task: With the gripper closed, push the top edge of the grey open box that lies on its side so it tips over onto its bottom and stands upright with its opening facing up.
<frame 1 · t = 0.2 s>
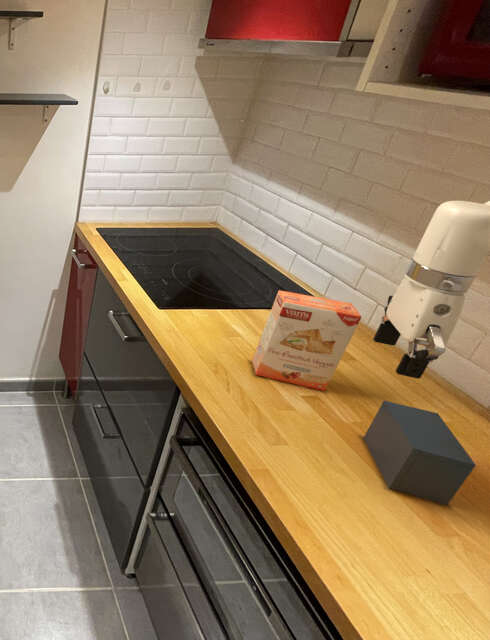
hand: (394, 358, 80), 20 cm above the worktop, tool pointing down, fingers open, 9 cm apart
grey open box: (401, 469, 83), on the worktop
cracker box: (286, 377, 105), on the worktop
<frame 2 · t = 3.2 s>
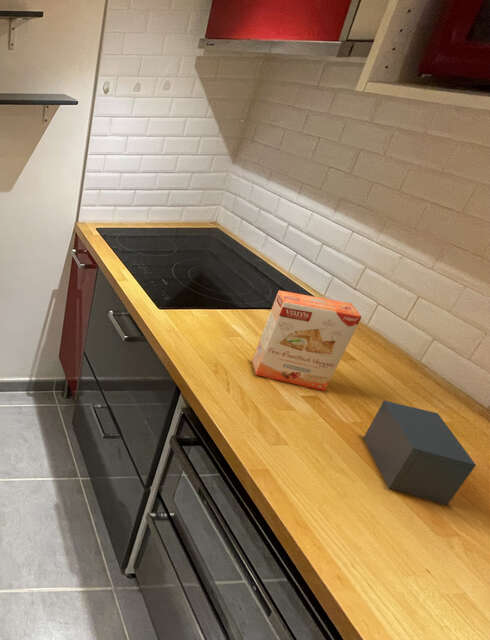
nothing on the worktop moved.
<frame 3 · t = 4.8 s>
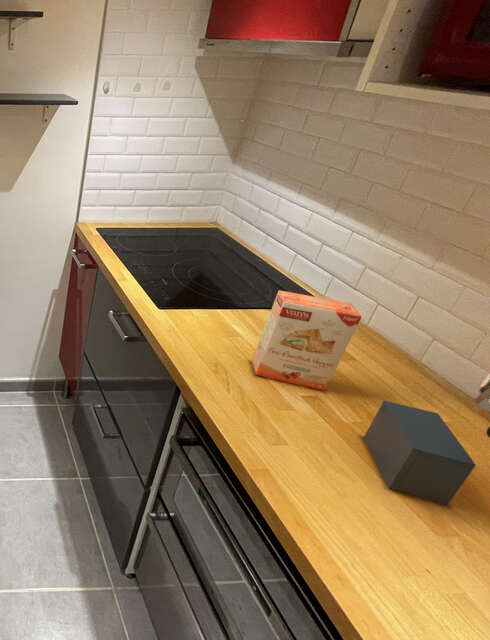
nothing on the worktop moved.
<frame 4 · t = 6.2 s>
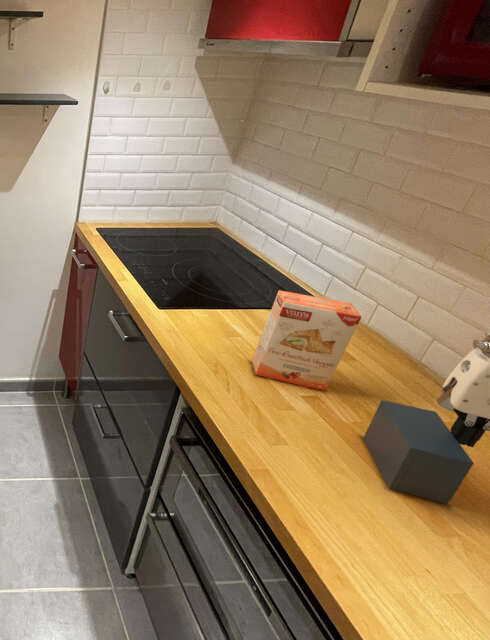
hand: (461, 439, 77), 10 cm above the worktop, tool pointing down, fingers closed
grey open box: (402, 468, 83), on the worktop, touching gripper
everything else where it was.
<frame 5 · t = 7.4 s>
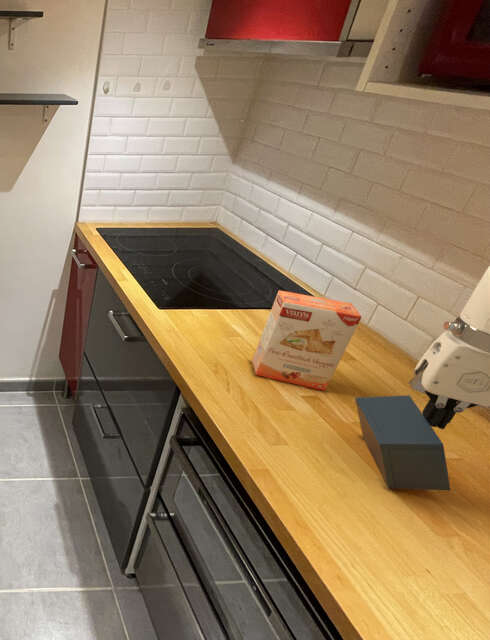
hand: (432, 421, 78), 12 cm above the worktop, tool pointing down, fingers closed
grey open box: (403, 462, 82), point 2 cm above the worktop, tilted 25°, touching gripper
everything else where it was.
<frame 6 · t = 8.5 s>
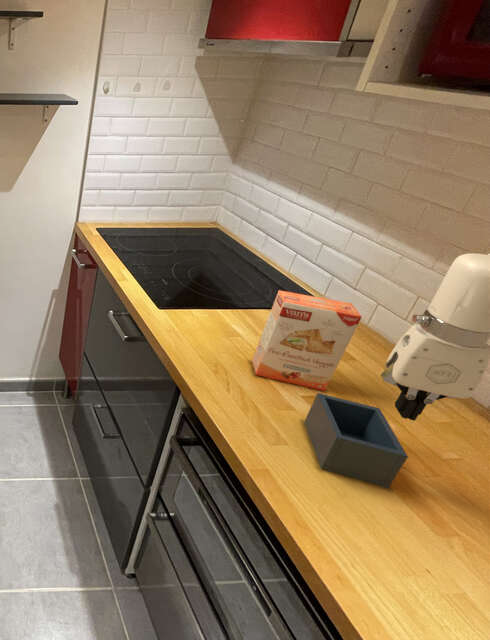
hand: (404, 413, 79), 12 cm above the worktop, tool pointing down, fingers closed
grey open box: (383, 446, 83), point 4 cm above the worktop, tilted 90°
everything else where it was.
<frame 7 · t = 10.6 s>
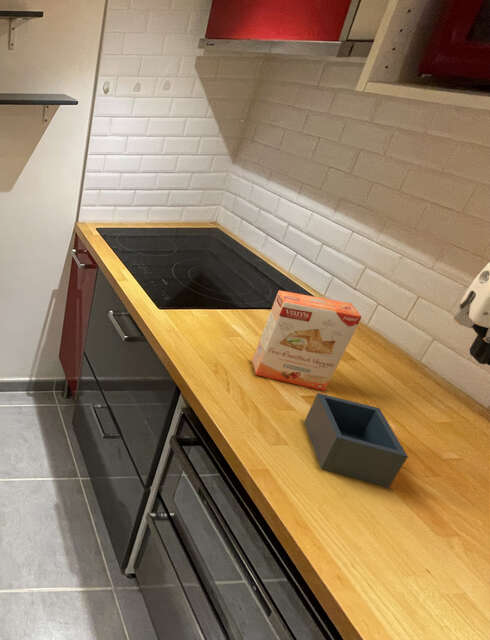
hand: (481, 359, 73), 25 cm above the worktop, tool pointing down, fingers closed
nothing on the worktop moved.
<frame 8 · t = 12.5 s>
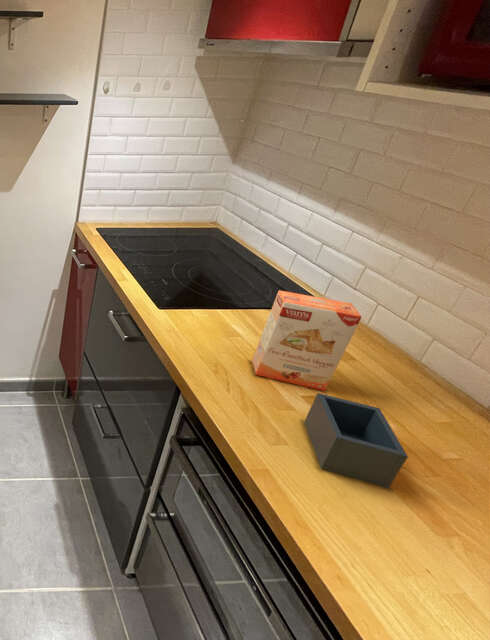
nothing on the worktop moved.
at the end: grey open box tilted 90°; grey open box inside the target area (1.5 cm from its centre), point 4.0 cm above the worktop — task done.
